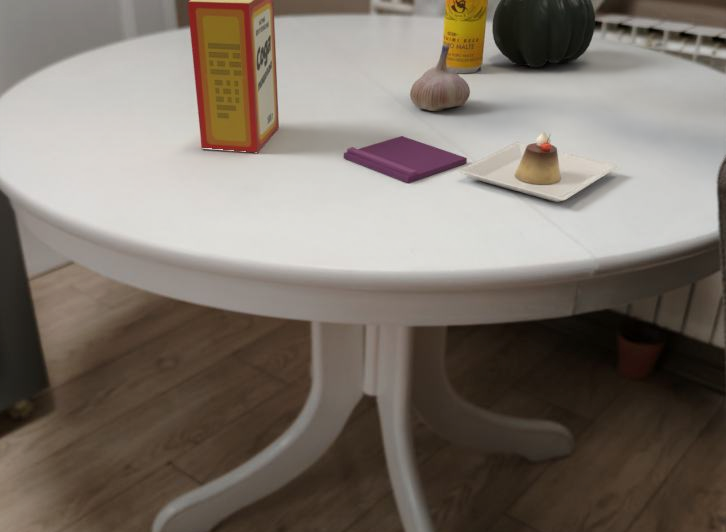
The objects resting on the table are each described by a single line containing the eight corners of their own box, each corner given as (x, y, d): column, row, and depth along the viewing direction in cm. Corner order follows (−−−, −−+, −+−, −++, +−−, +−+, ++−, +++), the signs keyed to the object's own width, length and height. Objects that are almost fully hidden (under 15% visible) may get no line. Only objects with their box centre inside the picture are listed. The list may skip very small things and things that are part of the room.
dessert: (562, 210, 76) (570, 162, 74) (456, 181, 83) (460, 135, 80) (617, 176, 84) (626, 130, 81) (516, 151, 90) (521, 108, 88)
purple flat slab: (466, 163, 87) (467, 154, 87) (407, 183, 82) (408, 173, 82) (401, 140, 94) (402, 132, 93) (343, 158, 89) (343, 149, 88)
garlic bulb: (474, 103, 106) (480, 40, 102) (458, 118, 101) (463, 52, 96) (420, 97, 109) (423, 35, 105) (401, 111, 103) (404, 46, 99)
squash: (620, 35, 116) (595, -59, 118) (524, 46, 113) (500, -51, 115) (576, 83, 130) (555, -2, 132) (490, 93, 127) (469, 6, 129)
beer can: (436, 71, 120) (443, -39, 112) (447, 62, 125) (454, -44, 117) (476, 75, 119) (486, -37, 110) (485, 66, 123) (495, -42, 115)
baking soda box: (257, 153, 90) (248, -1, 81) (201, 149, 91) (187, -3, 82) (278, 127, 98) (272, -15, 89) (227, 124, 99) (216, -17, 90)
